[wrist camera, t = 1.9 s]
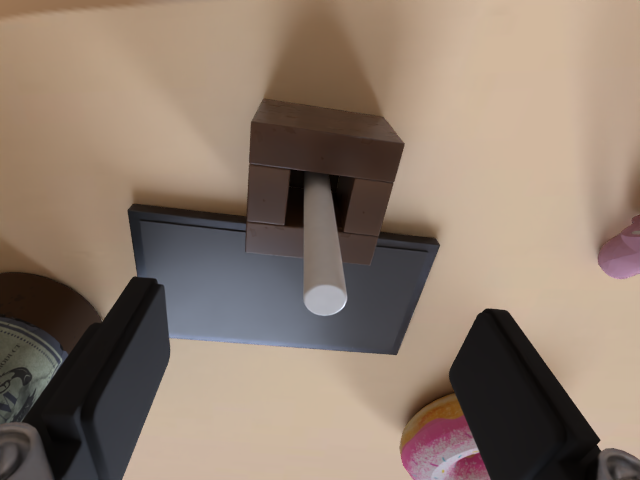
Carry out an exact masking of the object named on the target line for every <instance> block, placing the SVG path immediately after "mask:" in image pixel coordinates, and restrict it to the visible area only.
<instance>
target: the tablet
mask: <svg viewBox="0 0 640 480" xmlns="http://www.w3.org/2000/svg"><path fill="white" fill-rule="evenodd" d="M128 216H129V223H130V230H131V237H132V243H133V250H134V257H135V263H136V270H137V277H146V278H155V279H157V281H158V284H163V285H164V289H165V299H166V310H167V321H168V331H169V338H177V339H190V340H204V341H217V342H230V343H243V344H257V345H270V346H283V347H296V348H310V349H323V350H336V351H349V352H363V353H376V354H389V355H397V353H398V351H399V348H400V346H401V343H402V341H403V338H404V336H405V333H406V330H407V328H408V325H409V323H410V320H411V318H412V315H413V313H414V310H415V308H416V305H417V303H418V300H419V297H420V295H421V292H422V290H423V287H424V285H425V282H426V280H427V277H428V275H429V272H430V270H431V267H432V264H433V262H434V259H435V257H436V254H437V252H438V249H439V247H440V244H439V243H438V241H437V239H436V238H427V237H418V236H410V235H401V234H392V233H384V232H380V234H379V236H378V240H377V244H376V247H375V251H374V255H373V258H372V262H371V265H361V264H352V263H342V265H343V272H344V279H345V285H346V292H347V302H346V304H345V306H344V307H343V308H342V309H341V310H340V311H339V312H337V313H335V314H332V315H326V316H323V315H317V314H314V313H312V312H311V311H310V310H308V308H307V307H306V306H305V304H304V299H303V287H304V259H303V258H294V257H284V256H275V255H265V254H255V253H246V252H245V237H246V221H247V220H246V217H244V216H235V215H227V214H218V213H209V212H201V211H192V210H183V209H174V208H166V207H157V206H148V205H140V204H133V205H132V206H131V207H130V208H129V209H128Z"/></svg>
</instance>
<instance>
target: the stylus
mask: <svg viewBox="0 0 640 480" xmlns="http://www.w3.org/2000/svg"><path fill="white" fill-rule="evenodd" d="M303 299H304V304H305V306H306V307H307V308H308V310H310V311H311V312H312V313H314V314H317V315H323V316H326V315H332V314H335V313H337V312H339V311H340V310H341V309H342V308H343V307H344V306H345V304H346V302H347V292H346V285H345V279H344V272H343V265H342V259H341V252H340V246H339V239H338V232H337V226H336V219H335V213H334V206H333V200H332V193H331V186H330V180H329V174H325V173H317V172H309V171H304V287H303Z"/></svg>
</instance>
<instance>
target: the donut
mask: <svg viewBox="0 0 640 480" xmlns="http://www.w3.org/2000/svg"><path fill="white" fill-rule="evenodd" d="M400 454H401V459H402V463H403V466H404V467H405V469H406V470H407V471H408V473H409V474H410V476H411V477H412V478H413V479H414V480H491V479H490V477H489V474H488V472H487V470H486V467H485V465H484V462H483V460H482V458H481V455H480V453H479V450H478V448H477V445H476V443H475V441H474V438H473V436H472V433H471V431H470V429H469V426H468V424H467V421H466V419H465V416H464V414H463V412H462V409H461V407H460V404H459V402H458V399H457V397H456V395H455V393H453V394H450V395H447V396H444V397H442V398H440V399H437V400H435V401H433V402H432V403H430V404H428V405H426V406H425V407H424V408H422V409H421V410H420V411H419V412H418V413H417V414H416V415H415V416H414V417H413V418H412V419H411V420H410V421H409V422H408V423H407V425H406V427H405V428H404V430H403V433H402V438H401V442H400Z"/></svg>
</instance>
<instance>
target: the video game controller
mask: <svg viewBox="0 0 640 480" xmlns="http://www.w3.org/2000/svg"><path fill="white" fill-rule="evenodd" d="M632 223H633V224H632V225H630V226H629V227H627V228H625V229H624V230H623V231H622V232H621V233H620V234H619V235H617V236H615V237H613V238H612V239H611V240H609V241H608V242H607V243H606V244H605V245H604V246H603V247H602V248H601V250H600V252H599V255H598V264H599V266H600V267H601V269H602V270H603V271H604V272H605V273H606V274H607V275H609V276H611V277H613V278H617V279H625V278H628V277H631V276H634V275H637V274H640V215H637V216H635V217H633V218H632Z"/></svg>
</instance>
